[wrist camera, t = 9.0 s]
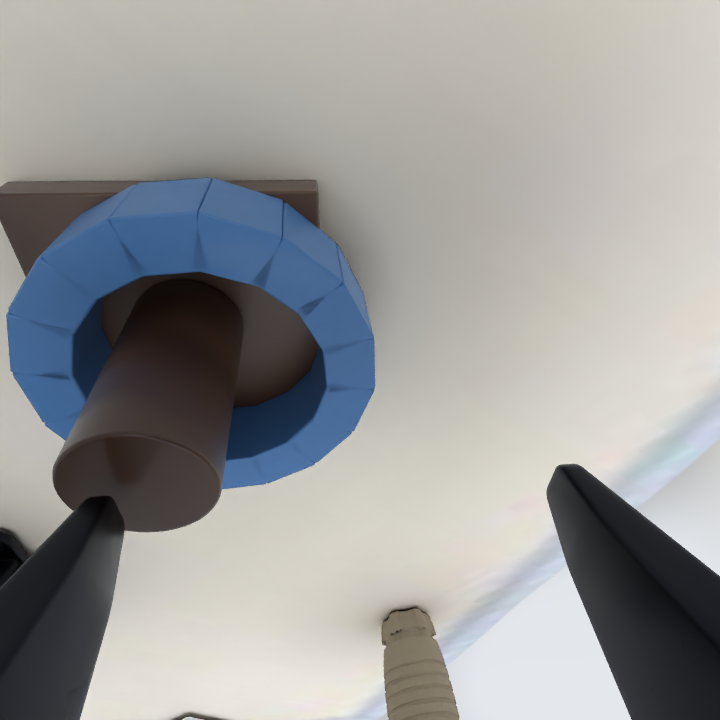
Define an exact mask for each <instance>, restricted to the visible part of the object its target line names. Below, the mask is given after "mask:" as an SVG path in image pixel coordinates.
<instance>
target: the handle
mask: <svg viewBox="0 0 720 720" xmlns="http://www.w3.org/2000/svg"><path fill="white" fill-rule="evenodd" d="M434 635H436V633H435V629H434V626H433V623H432V621H431V618H430V616H429V615H428V614H427V613H422V612H421V611H420V609H416V608H414V609H411V610H408V611H396V612H393V613H391V614H390V615H389V618H388V620H387V621H385V622H383V624H382V645H386V648H385V650H384V679H385V681H384V682H385V691H386V693H385V695H386V703H387V713H388V717H389V720H459V714H458V710H457V706H456V701H455V697H454V693H453V689H452V685H451V682H450V680H449V675H448V671H447V669H446V665H445V662H444V659H443V656H442V653H441V651H440V648H439V646H438V643H437V641H436V640H435V639H433V637H432V636H434Z"/></svg>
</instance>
